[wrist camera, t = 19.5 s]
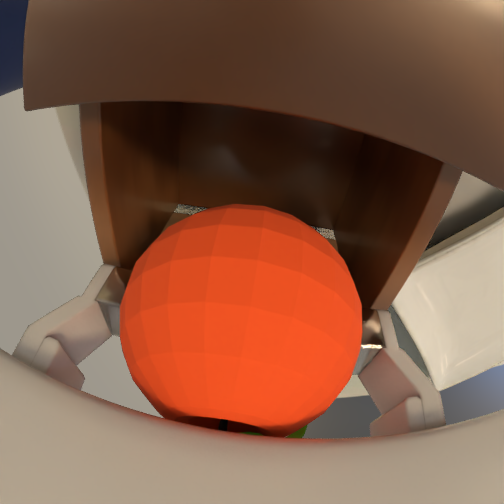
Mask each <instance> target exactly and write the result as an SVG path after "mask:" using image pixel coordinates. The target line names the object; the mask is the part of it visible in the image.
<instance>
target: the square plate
mask: <svg viewBox="0 0 504 504" xmlns="http://www.w3.org/2000/svg"><path fill="white" fill-rule="evenodd" d="M392 306H393V308H394V309H395V311H396V313H397V314H398V316H399V318H400V319H401V321H402V323H403V324H404V326H405V328H406V329H407V331H408V333H409V334H410V336H411V338H412V340H413V341H414V343H415V345H416V347H417V349H418V351H419V353H420V354H421V356H422V359H423V361H424V363H425V365H426V368H427V370H428V373H429V375H430V378H431V381H432V384H433V385H434V386H435V388H436V389H437V390H438V391H441V390H443V389H446V388H448V387H451V386H453V385H455V384H458V383H460V382H462V381H464V380H467V379H469V378H471V377H473V376H475V375H478V374H479V373H481V372H483V371H486V370H488V369H490V368H491V367H493V366H495V365H497V364H499V363H501V362H502V361H504V207H502V208H501V209H499V210H498V211H496V212H494V213H492V214H491V215H489V216H487V217H485V218H484V219H482V220H480V221H478V222H477V223H475V224H473V225H471V226H469V227H468V228H466V229H464V230H462V231H460V232H458V233H457V234H455V235H453V236H451V237H449V238H447V239H445V240H444V241H442V242H440V243H439V244H437V245H435V246H433V247H432V248H430V249H428V250H426V251H425V252H423V254H422V256H421V257H420V259H419V261H418V263H417V264H416V266H415V268H414V269H413V271H412V273H411V274H410V276H409V277H408V279H407V281H406V282H405V284H404V285H403V287H402V289H401V290H400V292H399V293H398V295H397V296H396V298H395V299H394V301H393V302H392Z"/></svg>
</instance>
